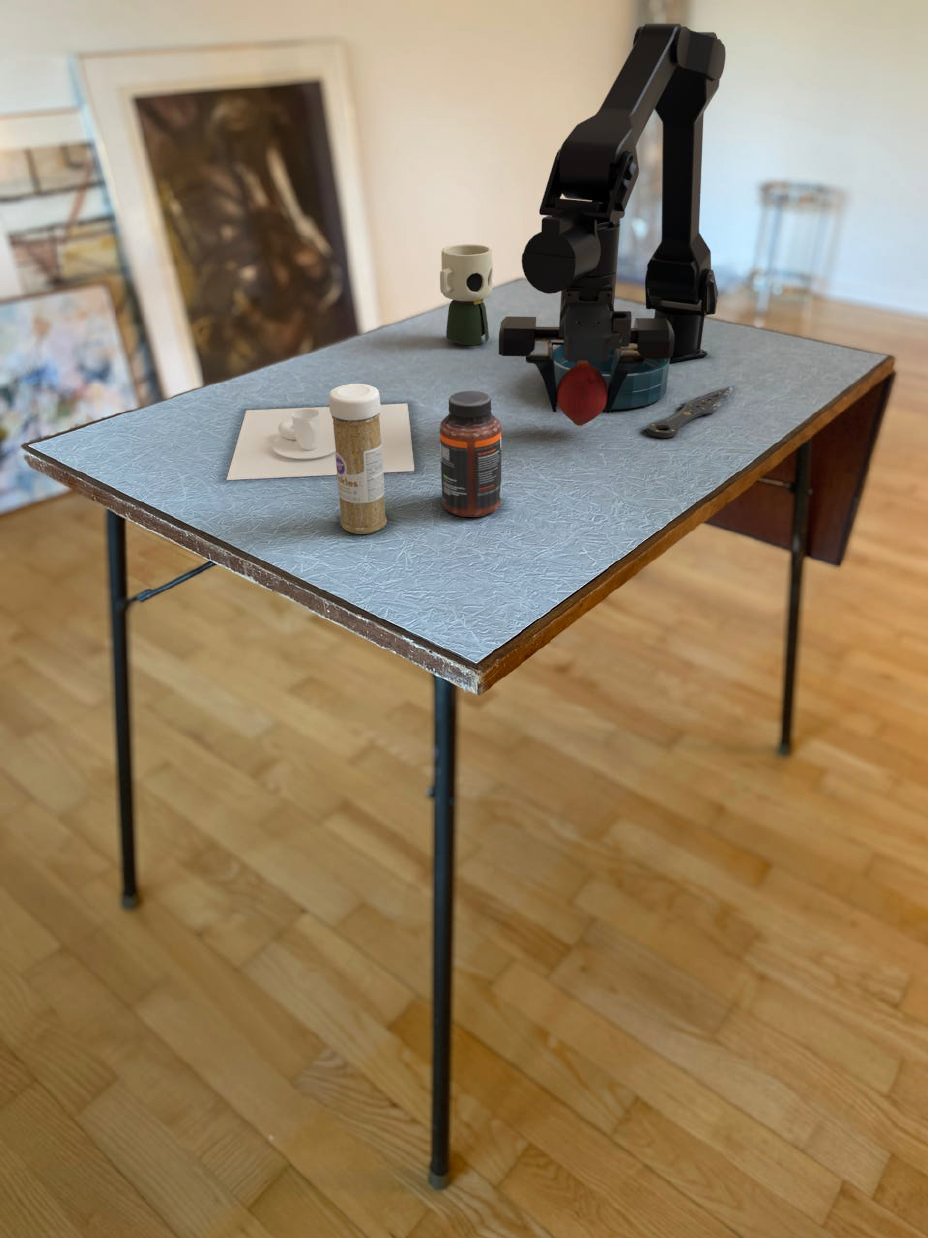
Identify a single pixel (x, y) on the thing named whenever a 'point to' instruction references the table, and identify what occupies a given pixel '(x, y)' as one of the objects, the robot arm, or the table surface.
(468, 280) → the character mug
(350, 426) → the sprinkles bottle
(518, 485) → the table surface
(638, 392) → the bowl
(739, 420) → the table surface
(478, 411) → the supplement bottle
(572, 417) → the onion
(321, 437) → the teacup and saucer
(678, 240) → the robot arm
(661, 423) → the throwing knife
